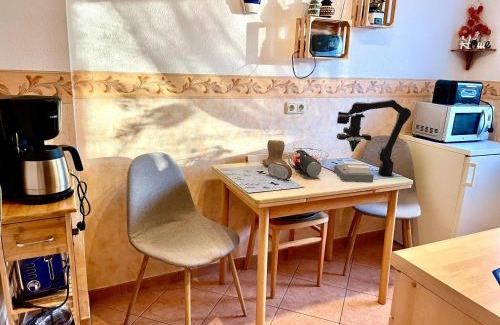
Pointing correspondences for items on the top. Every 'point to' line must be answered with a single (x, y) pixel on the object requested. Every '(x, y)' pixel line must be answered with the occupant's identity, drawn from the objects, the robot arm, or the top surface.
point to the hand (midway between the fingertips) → (352, 151)
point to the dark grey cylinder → (309, 164)
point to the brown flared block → (275, 152)
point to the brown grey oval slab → (279, 170)
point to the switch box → (352, 175)
